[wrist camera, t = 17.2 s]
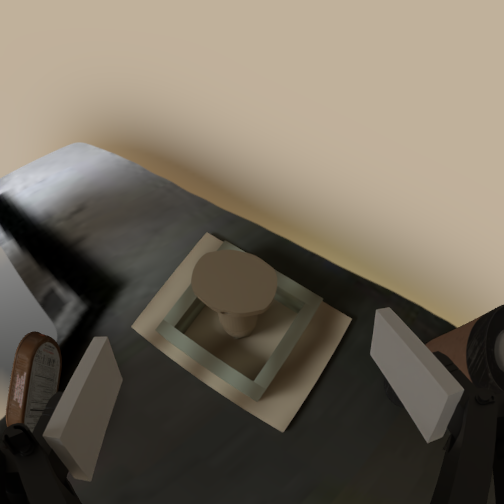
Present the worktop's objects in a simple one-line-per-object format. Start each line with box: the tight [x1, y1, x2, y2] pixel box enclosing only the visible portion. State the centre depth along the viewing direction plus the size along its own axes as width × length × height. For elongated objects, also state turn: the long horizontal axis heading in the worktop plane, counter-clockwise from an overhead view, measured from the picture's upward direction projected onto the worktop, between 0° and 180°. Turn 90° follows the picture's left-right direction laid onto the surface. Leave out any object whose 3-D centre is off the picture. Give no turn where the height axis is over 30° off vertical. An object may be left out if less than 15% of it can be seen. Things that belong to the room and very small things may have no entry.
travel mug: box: [385, 305, 504, 408], centre depth 26 cm, size 8×8×20 cm
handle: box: [191, 250, 277, 339], centre depth 31 cm, size 5×6×15 cm
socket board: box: [131, 232, 352, 432], centre depth 36 cm, size 22×16×6 cm
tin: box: [6, 332, 62, 432], centre depth 29 cm, size 15×3×8 cm, turn 174°
